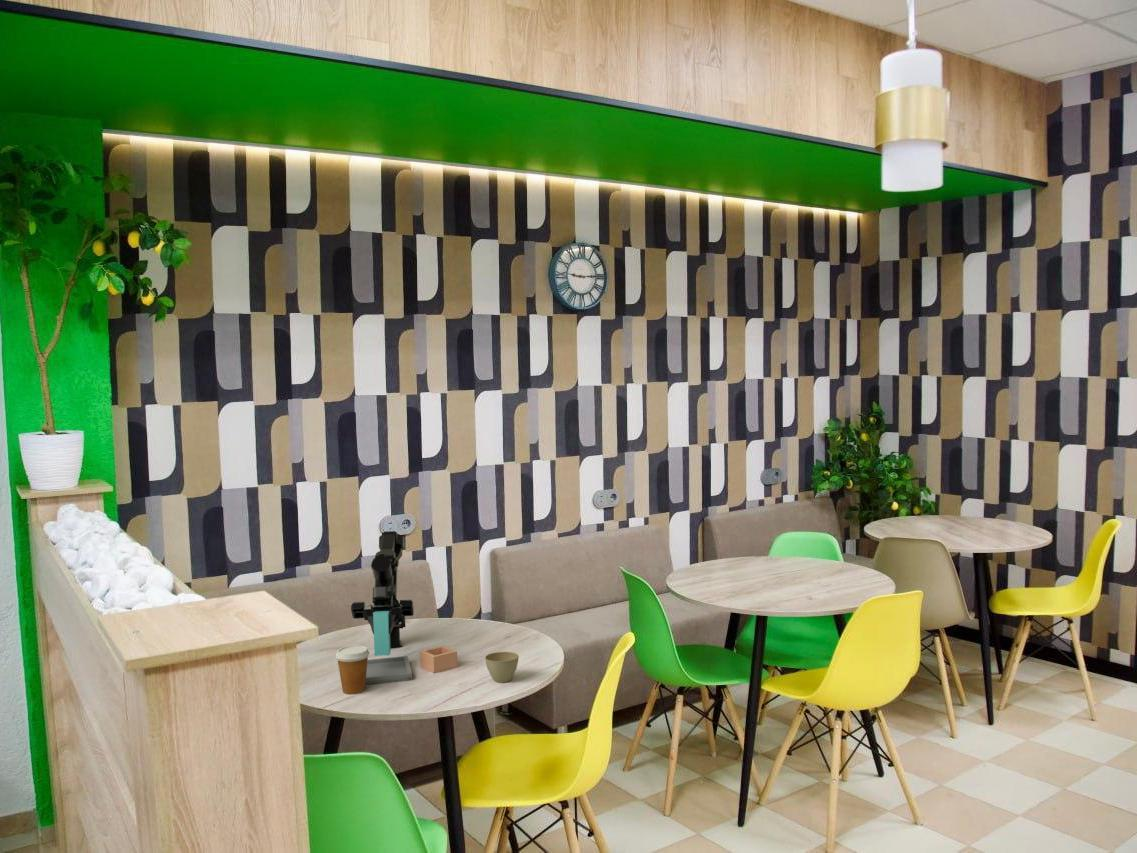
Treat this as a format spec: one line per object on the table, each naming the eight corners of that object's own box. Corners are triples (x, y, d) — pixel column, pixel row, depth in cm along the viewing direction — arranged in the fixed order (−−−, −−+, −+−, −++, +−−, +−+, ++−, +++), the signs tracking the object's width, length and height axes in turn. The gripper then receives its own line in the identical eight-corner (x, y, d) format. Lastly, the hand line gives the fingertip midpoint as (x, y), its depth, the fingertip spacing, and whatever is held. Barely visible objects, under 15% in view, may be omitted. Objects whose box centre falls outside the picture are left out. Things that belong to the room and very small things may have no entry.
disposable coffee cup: (362, 697, 259) (360, 655, 259) (331, 695, 261) (329, 654, 261) (375, 685, 269) (374, 645, 268) (345, 684, 271) (344, 644, 270)
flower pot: (526, 677, 273) (525, 654, 272) (505, 687, 265) (504, 663, 264) (499, 672, 278) (499, 649, 278) (478, 681, 270) (478, 658, 270)
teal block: (376, 651, 282) (374, 611, 282) (390, 650, 283) (389, 610, 282) (374, 655, 278) (373, 615, 277) (389, 655, 279) (387, 614, 278)
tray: (356, 667, 287) (355, 660, 287) (407, 662, 290) (407, 655, 290) (357, 685, 269) (356, 679, 269) (412, 680, 273) (411, 673, 273)
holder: (420, 666, 286) (419, 651, 285) (443, 661, 291) (442, 645, 291) (433, 673, 279) (433, 657, 279) (457, 667, 284) (456, 651, 284)
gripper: (350, 576, 282) (347, 621, 272) (411, 574, 284) (410, 618, 274) (354, 595, 290) (351, 640, 280) (414, 593, 292) (413, 636, 282)
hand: (381, 633), depth 279 cm, fingers closed on teal block, 4 cm apart
